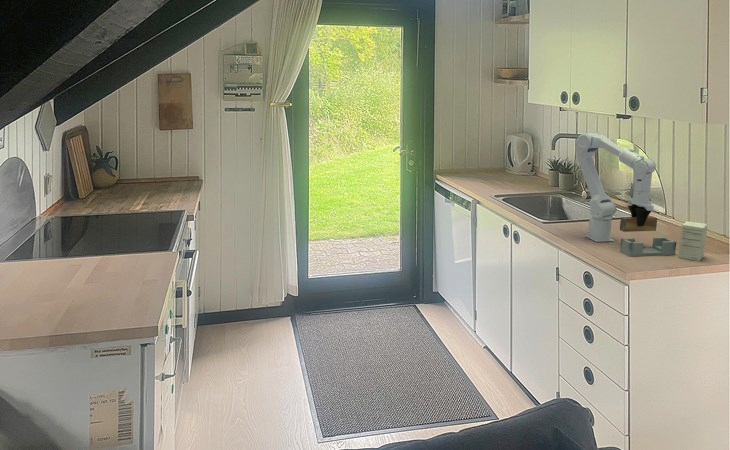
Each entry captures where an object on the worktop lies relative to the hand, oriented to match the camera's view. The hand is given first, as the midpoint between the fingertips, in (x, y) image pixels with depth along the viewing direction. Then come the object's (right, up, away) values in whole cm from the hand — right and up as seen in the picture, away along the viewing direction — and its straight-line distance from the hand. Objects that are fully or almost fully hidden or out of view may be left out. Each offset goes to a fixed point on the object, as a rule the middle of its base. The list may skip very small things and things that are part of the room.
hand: (638, 225), depth 237 cm
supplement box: (+15, -12, -11) cm, 22 cm away
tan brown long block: (0, -2, +1) cm, 2 cm away
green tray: (+1, -11, -6) cm, 12 cm away
